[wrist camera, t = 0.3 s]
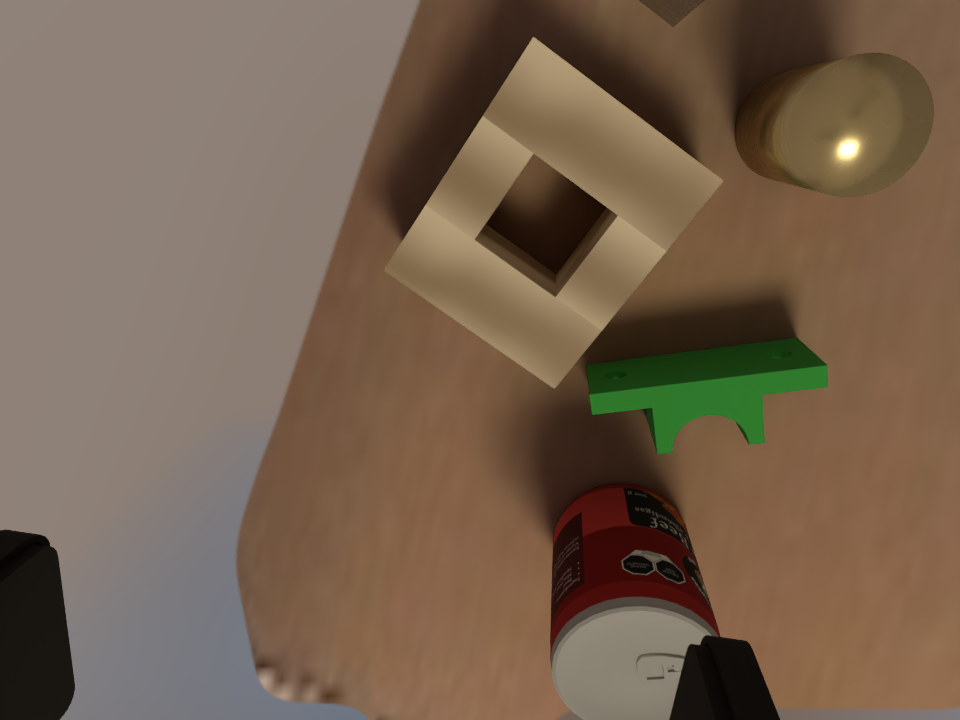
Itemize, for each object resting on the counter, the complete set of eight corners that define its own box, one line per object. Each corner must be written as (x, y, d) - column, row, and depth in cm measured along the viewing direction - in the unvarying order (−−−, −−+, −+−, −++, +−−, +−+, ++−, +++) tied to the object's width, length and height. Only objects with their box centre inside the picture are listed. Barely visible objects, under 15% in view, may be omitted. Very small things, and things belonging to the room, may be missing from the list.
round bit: (786, 47, 31) (858, 22, 23) (868, 112, 31) (965, 108, 24) (712, 140, 32) (758, 145, 25) (791, 200, 33) (859, 223, 25)
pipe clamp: (594, 423, 38) (597, 461, 34) (585, 363, 37) (588, 394, 33) (798, 400, 36) (829, 437, 32) (796, 336, 35) (828, 365, 31)
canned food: (706, 560, 40) (756, 710, 30) (586, 603, 42) (594, 757, 32) (654, 458, 38) (687, 581, 28) (531, 508, 41) (521, 640, 30)
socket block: (537, 49, 32) (533, 36, 27) (700, 172, 33) (723, 180, 28) (406, 251, 36) (383, 270, 31) (555, 355, 37) (554, 388, 32)
